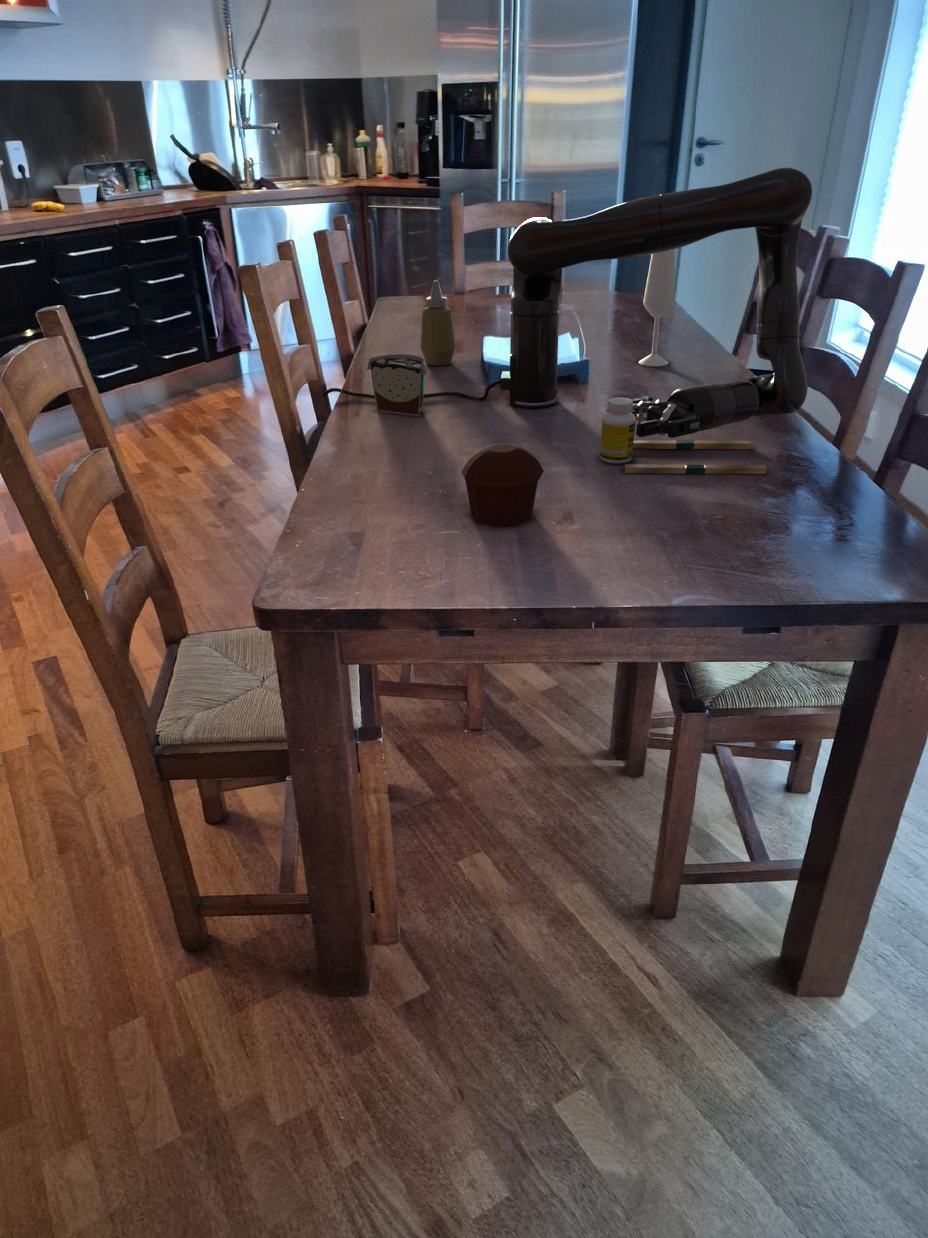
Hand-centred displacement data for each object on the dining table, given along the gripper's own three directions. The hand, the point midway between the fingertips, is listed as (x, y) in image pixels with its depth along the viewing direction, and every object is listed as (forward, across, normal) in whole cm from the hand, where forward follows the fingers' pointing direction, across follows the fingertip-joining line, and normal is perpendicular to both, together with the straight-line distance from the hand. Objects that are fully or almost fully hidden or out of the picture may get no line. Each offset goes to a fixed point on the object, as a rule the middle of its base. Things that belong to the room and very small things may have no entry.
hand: (622, 422), depth 141 cm
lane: (-10, +6, +6) cm, 13 cm away
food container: (+21, -43, +6) cm, 48 cm away
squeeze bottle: (+1, -72, +6) cm, 72 cm away
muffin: (+28, +11, +6) cm, 31 cm away
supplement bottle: (+1, 0, +6) cm, 6 cm away
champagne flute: (-42, -47, +6) cm, 63 cm away
